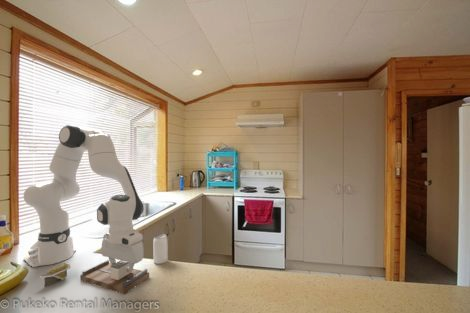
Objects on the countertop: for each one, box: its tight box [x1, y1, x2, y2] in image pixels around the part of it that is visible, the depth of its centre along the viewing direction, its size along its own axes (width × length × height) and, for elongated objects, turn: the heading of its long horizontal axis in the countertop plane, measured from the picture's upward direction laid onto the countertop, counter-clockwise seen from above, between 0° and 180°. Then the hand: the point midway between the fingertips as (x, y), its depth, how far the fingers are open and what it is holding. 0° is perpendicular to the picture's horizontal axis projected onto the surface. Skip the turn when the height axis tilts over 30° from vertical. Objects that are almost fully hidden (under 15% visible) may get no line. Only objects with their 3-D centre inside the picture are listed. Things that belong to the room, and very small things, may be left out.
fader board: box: [80, 259, 150, 295], centre depth 90 cm, size 25×12×4 cm, turn 67°
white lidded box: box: [111, 260, 133, 280], centre depth 89 cm, size 4×7×5 cm, turn 157°
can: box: [152, 233, 169, 265], centre depth 105 cm, size 6×6×12 cm
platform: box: [40, 262, 71, 287], centre depth 89 cm, size 12×18×7 cm, turn 158°
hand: (122, 269), depth 89 cm, fingers open, 8 cm apart
